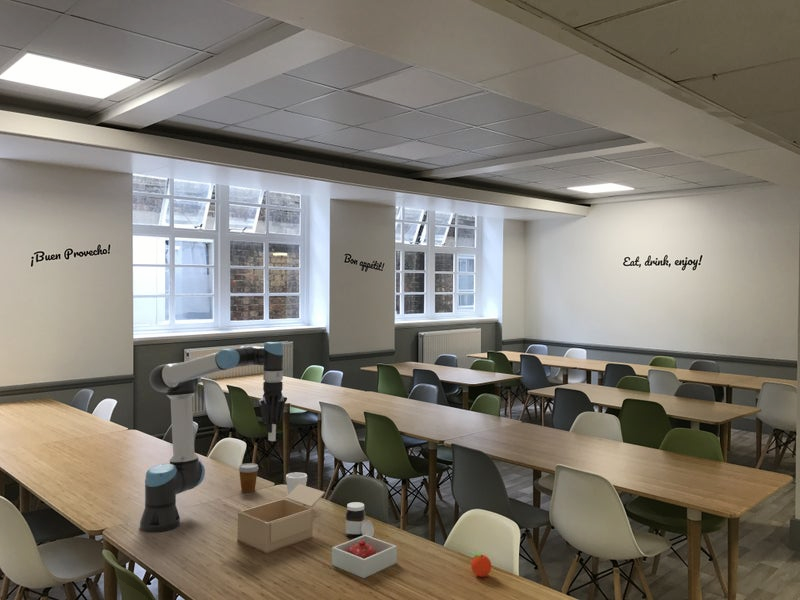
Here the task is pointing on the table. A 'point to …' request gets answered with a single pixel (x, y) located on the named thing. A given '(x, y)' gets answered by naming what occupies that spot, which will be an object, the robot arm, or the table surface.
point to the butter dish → (362, 550)
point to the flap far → (305, 495)
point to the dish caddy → (368, 565)
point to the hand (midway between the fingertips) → (271, 440)
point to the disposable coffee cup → (248, 476)
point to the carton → (275, 525)
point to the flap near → (244, 513)
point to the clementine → (481, 565)
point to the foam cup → (295, 481)
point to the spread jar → (357, 521)
